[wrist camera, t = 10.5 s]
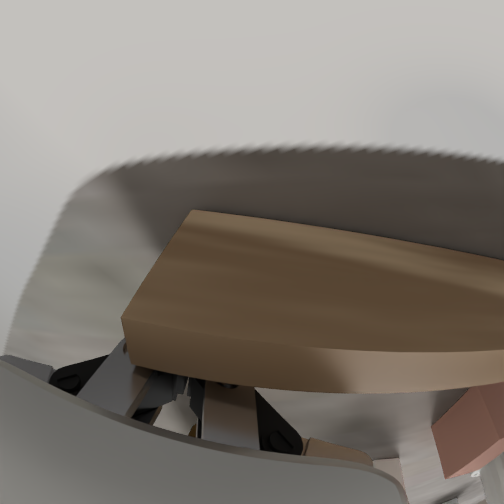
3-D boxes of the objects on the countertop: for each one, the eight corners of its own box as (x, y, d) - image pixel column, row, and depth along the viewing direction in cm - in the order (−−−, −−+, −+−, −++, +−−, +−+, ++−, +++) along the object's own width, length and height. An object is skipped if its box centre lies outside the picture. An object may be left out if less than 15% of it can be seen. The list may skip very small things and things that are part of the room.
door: (542, 291, 12) (594, 358, 6) (192, 242, 12) (131, 365, 6) (552, 269, 11) (609, 333, 6) (194, 205, 11) (120, 315, 6)
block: (505, 380, 16) (528, 430, 11) (463, 422, 19) (478, 469, 14) (474, 381, 16) (499, 439, 11) (430, 425, 19) (445, 479, 14)
